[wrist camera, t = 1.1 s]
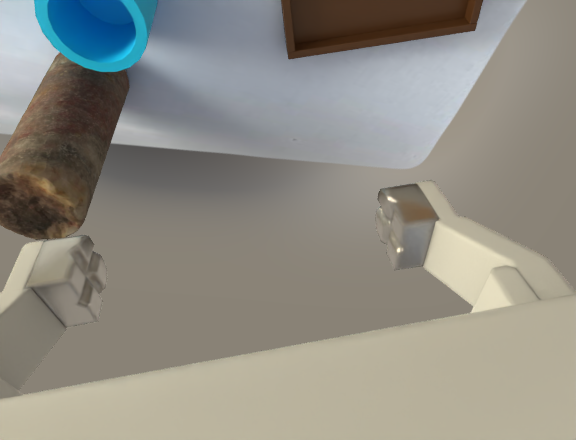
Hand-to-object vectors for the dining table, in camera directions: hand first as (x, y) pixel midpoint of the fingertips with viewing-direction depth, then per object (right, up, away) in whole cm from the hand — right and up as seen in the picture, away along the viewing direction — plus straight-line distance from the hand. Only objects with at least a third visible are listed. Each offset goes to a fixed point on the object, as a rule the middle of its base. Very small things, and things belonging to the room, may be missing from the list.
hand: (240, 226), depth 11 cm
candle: (-20, +16, +32) cm, 41 cm away
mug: (-15, +23, +24) cm, 36 cm away
